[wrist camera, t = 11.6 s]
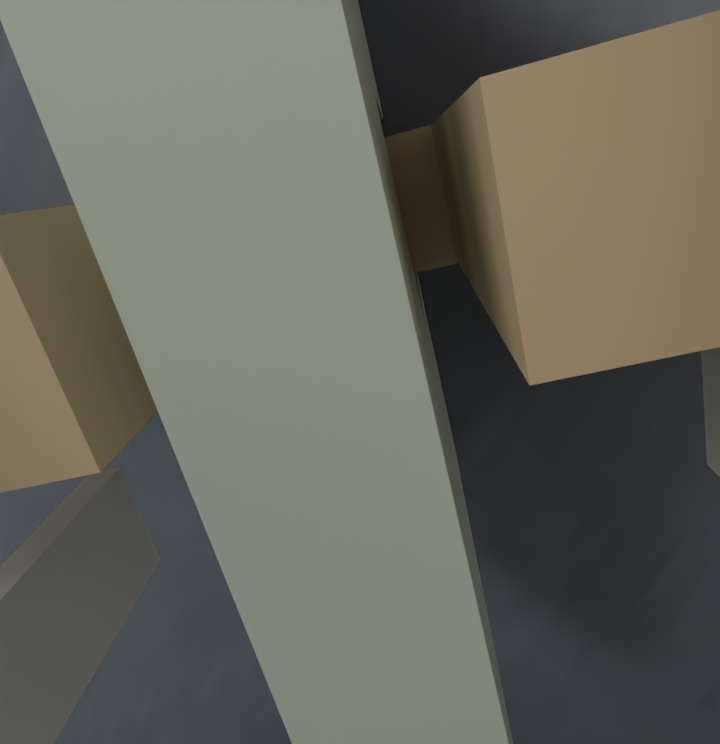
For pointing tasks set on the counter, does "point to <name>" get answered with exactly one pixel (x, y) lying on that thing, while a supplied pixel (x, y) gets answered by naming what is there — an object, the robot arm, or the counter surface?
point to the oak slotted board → (441, 241)
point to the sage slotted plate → (280, 342)
